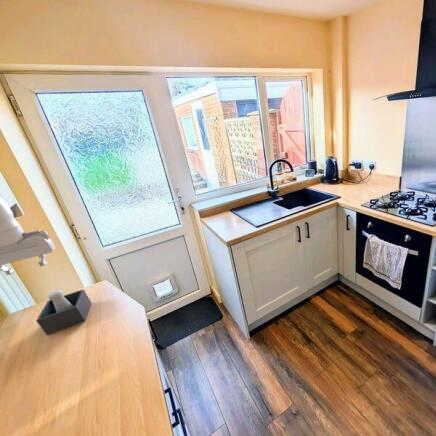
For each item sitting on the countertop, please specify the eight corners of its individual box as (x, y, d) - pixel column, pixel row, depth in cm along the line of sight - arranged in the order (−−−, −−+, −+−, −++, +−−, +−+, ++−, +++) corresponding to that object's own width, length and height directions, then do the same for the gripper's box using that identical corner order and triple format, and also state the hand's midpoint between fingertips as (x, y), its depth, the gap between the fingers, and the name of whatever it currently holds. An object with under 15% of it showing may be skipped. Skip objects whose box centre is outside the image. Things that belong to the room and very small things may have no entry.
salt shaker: (77, 308, 108) (62, 285, 102) (79, 315, 104) (64, 291, 98) (60, 317, 104) (44, 293, 98) (61, 324, 100) (44, 299, 95)
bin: (46, 335, 97) (36, 320, 93) (57, 314, 107) (47, 300, 104) (85, 321, 101) (76, 307, 98) (91, 302, 112) (83, 289, 108)
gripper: (47, 225, 93) (64, 256, 98) (-28, 241, 85) (-5, 274, 90) (41, 231, 87) (59, 264, 93) (-40, 249, 79) (-15, 283, 85)
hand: (27, 269), depth 92 cm, fingers open, 8 cm apart
